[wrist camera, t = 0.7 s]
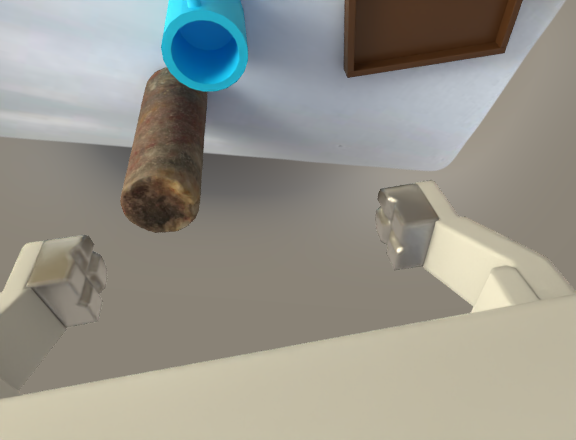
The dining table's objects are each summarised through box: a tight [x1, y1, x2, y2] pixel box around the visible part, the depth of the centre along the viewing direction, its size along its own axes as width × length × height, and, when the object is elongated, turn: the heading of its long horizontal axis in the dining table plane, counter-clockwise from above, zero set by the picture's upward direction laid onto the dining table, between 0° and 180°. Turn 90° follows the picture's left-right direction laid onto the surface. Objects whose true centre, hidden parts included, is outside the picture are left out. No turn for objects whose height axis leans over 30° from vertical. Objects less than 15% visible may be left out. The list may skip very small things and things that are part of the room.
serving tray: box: [344, 0, 523, 78], centre depth 44 cm, size 14×20×2 cm
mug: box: [161, 0, 248, 92], centre depth 39 cm, size 12×8×8 cm
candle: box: [120, 68, 207, 233], centre depth 43 cm, size 8×7×20 cm
